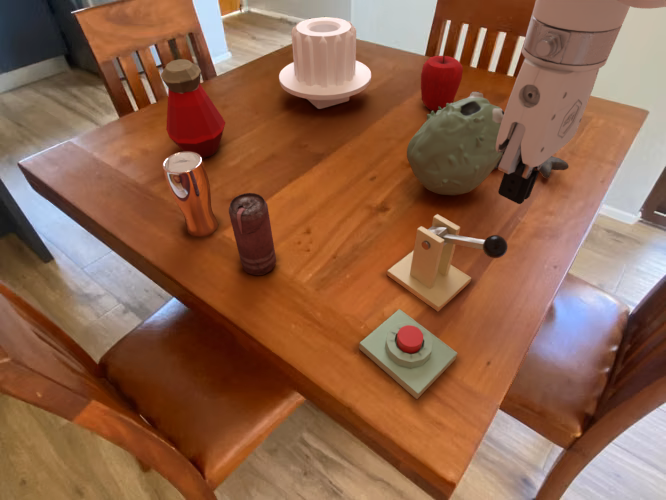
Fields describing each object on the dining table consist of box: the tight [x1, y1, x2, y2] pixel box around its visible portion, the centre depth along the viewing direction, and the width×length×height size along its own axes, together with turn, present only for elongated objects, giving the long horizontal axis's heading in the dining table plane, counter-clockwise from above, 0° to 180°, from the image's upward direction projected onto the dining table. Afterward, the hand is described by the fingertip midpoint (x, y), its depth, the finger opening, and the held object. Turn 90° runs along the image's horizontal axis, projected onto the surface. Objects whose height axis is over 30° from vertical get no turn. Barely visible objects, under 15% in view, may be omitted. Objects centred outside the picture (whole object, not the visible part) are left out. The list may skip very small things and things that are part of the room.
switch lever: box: [427, 225, 509, 259], centre depth 63 cm, size 13×3×3 cm, turn 43°
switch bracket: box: [386, 213, 472, 312], centre depth 70 cm, size 11×9×12 cm
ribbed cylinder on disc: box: [278, 16, 372, 110], centre depth 115 cm, size 25×25×19 cm
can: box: [228, 192, 277, 276], centre depth 72 cm, size 6×6×14 cm
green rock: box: [406, 91, 505, 196], centre depth 85 cm, size 16×19×20 cm
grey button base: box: [358, 308, 458, 400], centre depth 63 cm, size 11×9×4 cm
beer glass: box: [162, 151, 219, 238], centre depth 79 cm, size 7×7×15 cm
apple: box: [420, 55, 464, 112], centre depth 113 cm, size 11×10×14 cm
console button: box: [397, 325, 423, 353], centre depth 61 cm, size 4×4×2 cm
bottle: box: [160, 59, 226, 160], centre depth 98 cm, size 16×14×20 cm
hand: (513, 195), depth 53 cm, fingers closed
